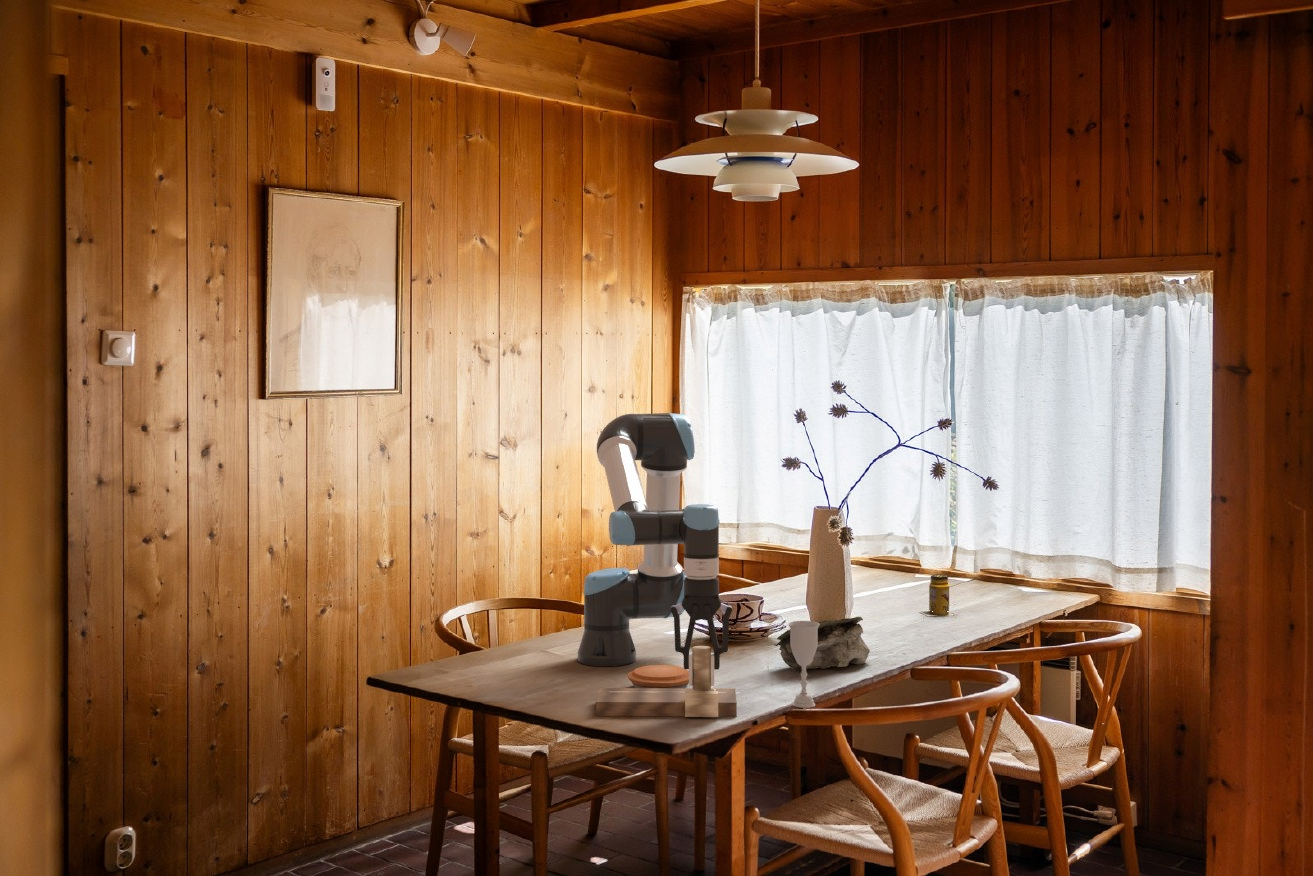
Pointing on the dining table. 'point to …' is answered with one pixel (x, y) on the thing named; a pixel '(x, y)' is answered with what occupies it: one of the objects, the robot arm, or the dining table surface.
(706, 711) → the wooden handled tool
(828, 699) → the dining table surface
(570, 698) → the dining table surface
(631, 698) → the board
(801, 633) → the chalice
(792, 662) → the hollow geode rock
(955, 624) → the dining table surface
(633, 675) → the pie
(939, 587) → the condiment
